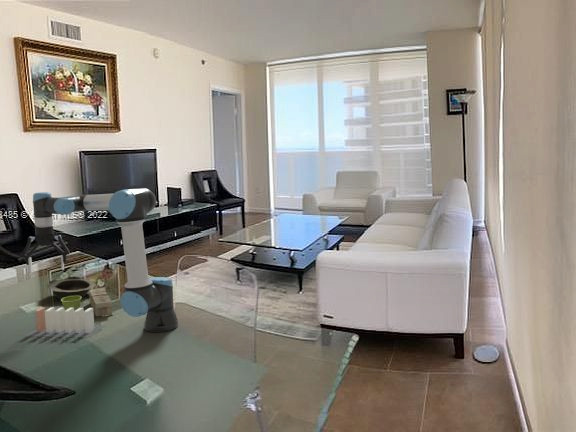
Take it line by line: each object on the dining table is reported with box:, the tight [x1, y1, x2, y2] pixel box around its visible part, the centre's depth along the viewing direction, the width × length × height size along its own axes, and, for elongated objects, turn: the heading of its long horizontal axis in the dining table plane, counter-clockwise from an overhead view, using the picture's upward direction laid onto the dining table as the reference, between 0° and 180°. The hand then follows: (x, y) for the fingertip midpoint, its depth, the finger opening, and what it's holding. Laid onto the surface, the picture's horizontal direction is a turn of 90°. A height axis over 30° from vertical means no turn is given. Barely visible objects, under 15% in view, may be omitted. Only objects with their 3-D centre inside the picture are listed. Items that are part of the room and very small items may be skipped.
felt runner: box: [25, 324, 105, 338], centre depth 213 cm, size 30×14×1 cm, turn 87°
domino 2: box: [45, 306, 56, 333], centre depth 213 cm, size 2×5×10 cm, turn 177°
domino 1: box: [34, 306, 47, 332], centre depth 213 cm, size 2×5×10 cm, turn 177°
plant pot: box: [60, 296, 83, 311], centre depth 234 cm, size 9×9×9 cm
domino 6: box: [84, 307, 95, 333], centre depth 212 cm, size 2×5×10 cm, turn 177°
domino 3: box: [54, 307, 66, 333], centre depth 212 cm, size 2×5×10 cm, turn 177°
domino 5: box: [74, 307, 85, 333], centre depth 212 cm, size 2×5×10 cm, turn 176°
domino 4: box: [64, 308, 75, 333], centre depth 212 cm, size 2×5×10 cm, turn 177°
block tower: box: [88, 287, 113, 317], centre depth 243 cm, size 8×8×29 cm
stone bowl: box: [46, 276, 97, 300], centre depth 266 cm, size 25×25×9 cm
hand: (47, 270), depth 221 cm, fingers open, 13 cm apart
